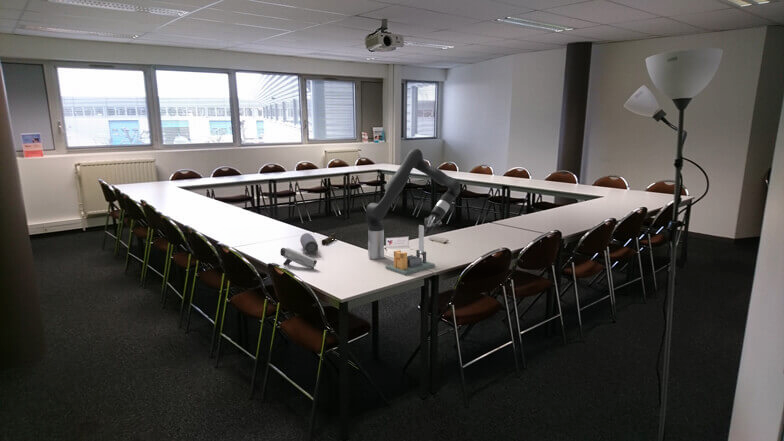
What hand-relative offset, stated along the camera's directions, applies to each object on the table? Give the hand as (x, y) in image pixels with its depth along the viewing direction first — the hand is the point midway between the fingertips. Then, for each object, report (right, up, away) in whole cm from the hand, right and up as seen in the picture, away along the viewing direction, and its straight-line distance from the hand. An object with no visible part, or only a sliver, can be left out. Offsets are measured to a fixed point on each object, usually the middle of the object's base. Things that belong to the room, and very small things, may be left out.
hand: (425, 233), depth 264 cm
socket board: (-8, -19, -3) cm, 21 cm away
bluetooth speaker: (-72, -13, +32) cm, 80 cm away
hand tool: (-63, -8, +56) cm, 84 cm away
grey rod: (-2, -11, 0) cm, 11 cm away
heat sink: (-8, -18, -4) cm, 20 cm away
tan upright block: (-14, -19, -9) cm, 25 cm away
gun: (-73, -20, 0) cm, 75 cm away
